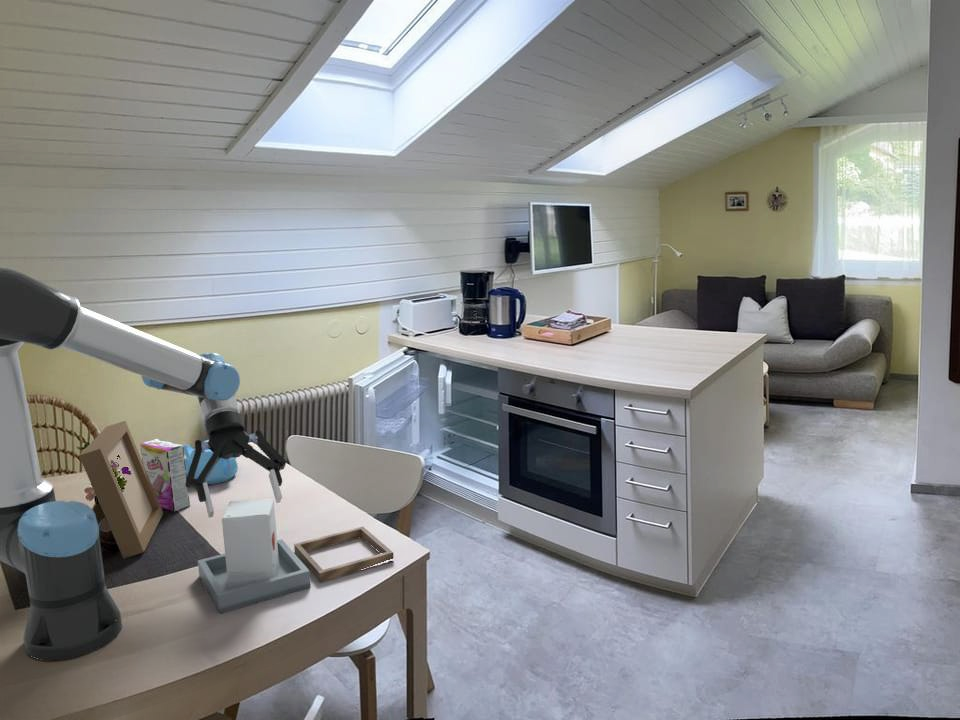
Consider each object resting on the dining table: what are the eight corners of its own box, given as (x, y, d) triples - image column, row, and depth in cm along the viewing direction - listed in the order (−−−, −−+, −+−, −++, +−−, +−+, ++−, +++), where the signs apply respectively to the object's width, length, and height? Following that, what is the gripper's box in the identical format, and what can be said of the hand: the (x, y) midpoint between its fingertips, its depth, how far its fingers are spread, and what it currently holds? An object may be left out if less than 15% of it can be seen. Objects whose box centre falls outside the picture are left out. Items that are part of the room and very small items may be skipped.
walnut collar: (320, 582, 150) (319, 573, 150) (294, 552, 164) (294, 544, 163) (393, 561, 158) (393, 552, 158) (363, 534, 172) (362, 526, 171)
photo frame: (163, 516, 185) (150, 418, 180) (144, 556, 164) (128, 446, 159) (98, 524, 182) (83, 424, 177) (70, 565, 161) (52, 453, 156)
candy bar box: (146, 504, 193) (138, 443, 190) (163, 498, 197) (156, 437, 194) (173, 513, 187) (166, 449, 184) (191, 506, 191) (184, 444, 188)
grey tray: (219, 613, 140) (217, 596, 139) (199, 576, 154) (197, 560, 153) (310, 587, 148) (309, 570, 148) (283, 554, 163) (282, 539, 162)
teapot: (179, 490, 202) (175, 452, 200) (185, 472, 217) (181, 436, 214) (239, 484, 206) (235, 446, 204) (241, 466, 220) (237, 430, 218)
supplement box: (275, 587, 147) (269, 514, 144) (227, 591, 146) (220, 518, 143) (280, 565, 156) (274, 497, 153) (235, 569, 154) (228, 500, 151)
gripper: (277, 418, 172) (302, 501, 162) (159, 437, 159) (180, 529, 150) (282, 400, 166) (309, 486, 157) (161, 418, 154) (182, 512, 144)
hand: (246, 507), depth 153 cm, fingers open, 13 cm apart
